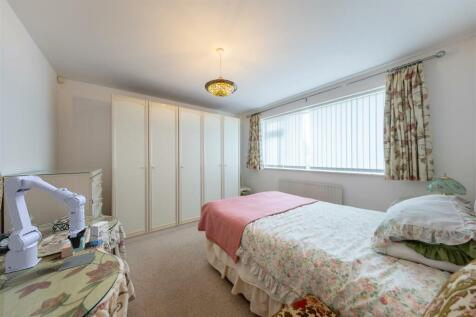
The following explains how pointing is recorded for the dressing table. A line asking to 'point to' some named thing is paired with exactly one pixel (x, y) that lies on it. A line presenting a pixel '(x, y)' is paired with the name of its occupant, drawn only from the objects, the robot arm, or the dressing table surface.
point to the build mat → (77, 261)
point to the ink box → (98, 232)
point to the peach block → (67, 251)
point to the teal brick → (81, 247)
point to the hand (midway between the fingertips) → (77, 245)
